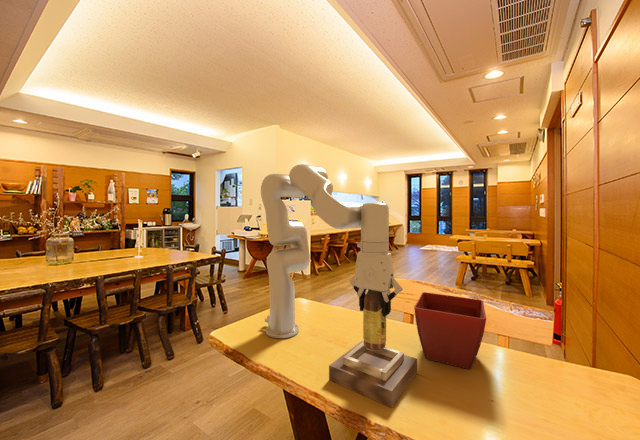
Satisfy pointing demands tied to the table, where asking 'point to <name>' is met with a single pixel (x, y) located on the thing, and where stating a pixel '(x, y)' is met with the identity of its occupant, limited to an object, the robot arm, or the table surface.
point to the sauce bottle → (374, 321)
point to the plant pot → (450, 328)
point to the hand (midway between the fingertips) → (374, 311)
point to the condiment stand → (374, 372)
